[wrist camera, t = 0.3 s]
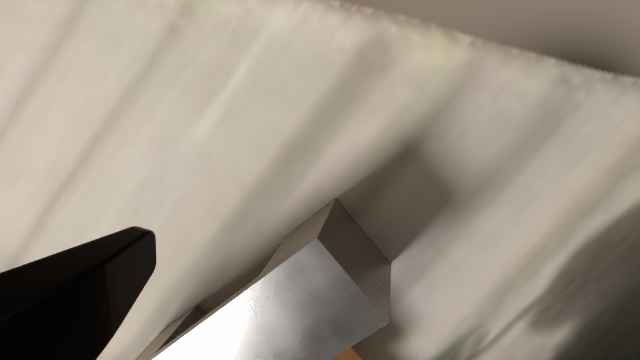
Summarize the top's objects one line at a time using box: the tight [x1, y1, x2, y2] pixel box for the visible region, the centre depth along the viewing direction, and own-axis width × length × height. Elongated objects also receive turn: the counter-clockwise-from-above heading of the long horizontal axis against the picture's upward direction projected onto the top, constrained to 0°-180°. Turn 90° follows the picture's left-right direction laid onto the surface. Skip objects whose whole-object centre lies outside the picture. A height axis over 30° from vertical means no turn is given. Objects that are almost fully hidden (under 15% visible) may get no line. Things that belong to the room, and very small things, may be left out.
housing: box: [135, 198, 391, 360], centre depth 23 cm, size 16×5×6 cm, turn 130°
